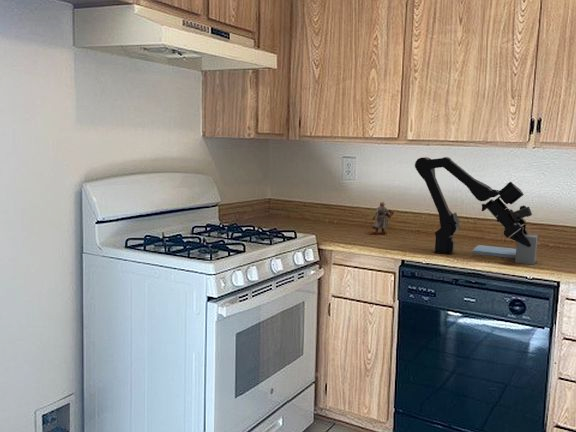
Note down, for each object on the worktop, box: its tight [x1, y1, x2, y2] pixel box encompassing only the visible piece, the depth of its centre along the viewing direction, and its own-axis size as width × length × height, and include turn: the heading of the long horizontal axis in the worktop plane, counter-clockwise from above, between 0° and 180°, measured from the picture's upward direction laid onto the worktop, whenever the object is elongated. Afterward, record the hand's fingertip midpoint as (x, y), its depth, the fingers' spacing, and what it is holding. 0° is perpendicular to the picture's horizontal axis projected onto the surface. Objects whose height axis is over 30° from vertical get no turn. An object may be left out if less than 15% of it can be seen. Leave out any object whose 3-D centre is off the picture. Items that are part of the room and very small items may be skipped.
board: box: [471, 244, 516, 259], centre depth 222 cm, size 20×14×1 cm
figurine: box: [370, 201, 395, 235], centre depth 260 cm, size 14×7×15 cm, turn 111°
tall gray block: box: [514, 233, 539, 265], centre depth 206 cm, size 6×6×10 cm
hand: (530, 244), depth 205 cm, fingers closed on tall gray block, 6 cm apart
